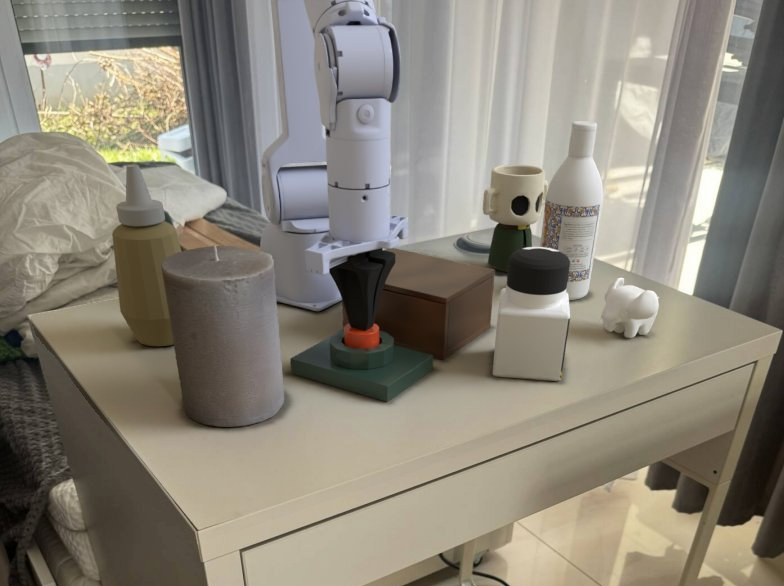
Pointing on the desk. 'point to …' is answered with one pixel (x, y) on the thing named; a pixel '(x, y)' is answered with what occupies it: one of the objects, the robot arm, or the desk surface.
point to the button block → (363, 366)
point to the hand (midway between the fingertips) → (361, 326)
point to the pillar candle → (225, 333)
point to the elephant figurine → (629, 309)
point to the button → (361, 337)
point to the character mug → (513, 209)
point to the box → (434, 319)
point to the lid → (433, 276)
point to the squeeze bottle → (143, 261)
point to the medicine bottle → (533, 316)
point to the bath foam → (575, 208)
